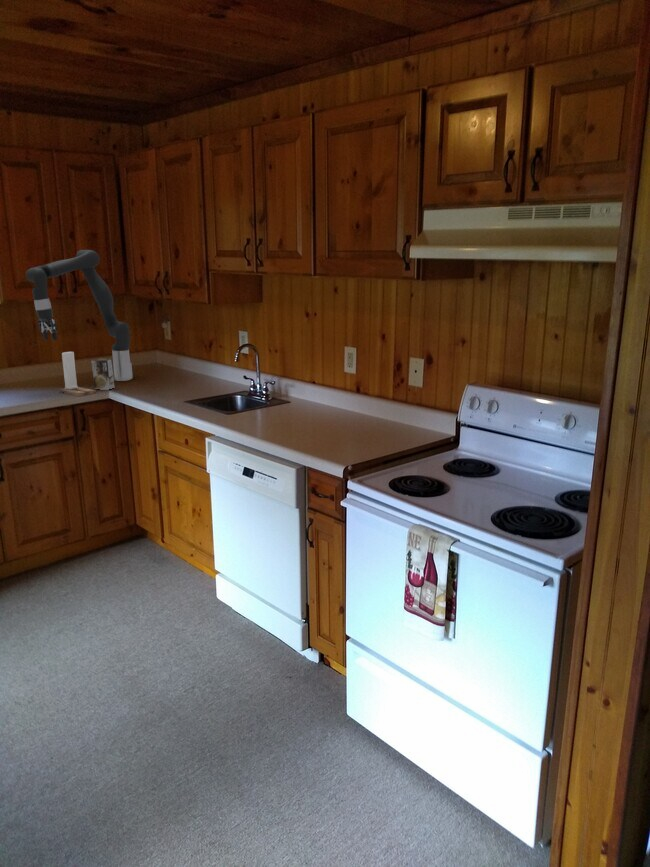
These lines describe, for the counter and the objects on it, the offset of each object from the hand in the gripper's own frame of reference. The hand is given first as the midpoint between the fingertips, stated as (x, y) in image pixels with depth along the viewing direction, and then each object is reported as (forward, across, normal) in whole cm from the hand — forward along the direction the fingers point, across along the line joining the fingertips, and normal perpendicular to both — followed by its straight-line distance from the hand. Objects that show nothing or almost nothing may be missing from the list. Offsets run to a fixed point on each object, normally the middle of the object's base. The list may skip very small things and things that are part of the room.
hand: (50, 340), depth 339 cm
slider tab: (+27, -2, -4) cm, 27 cm away
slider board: (+29, -7, -4) cm, 30 cm away
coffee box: (+30, -9, -19) cm, 37 cm away
